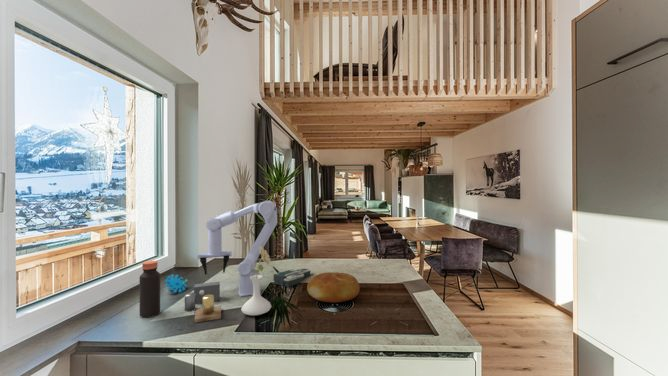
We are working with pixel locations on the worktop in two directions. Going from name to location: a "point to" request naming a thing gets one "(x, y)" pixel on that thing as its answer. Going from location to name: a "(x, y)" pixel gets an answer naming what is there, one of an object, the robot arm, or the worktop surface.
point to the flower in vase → (257, 291)
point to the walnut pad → (201, 317)
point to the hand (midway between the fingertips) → (214, 272)
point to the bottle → (149, 290)
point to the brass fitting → (208, 304)
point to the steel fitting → (190, 301)
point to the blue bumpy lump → (176, 283)
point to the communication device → (290, 276)
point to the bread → (333, 287)
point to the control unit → (207, 290)
